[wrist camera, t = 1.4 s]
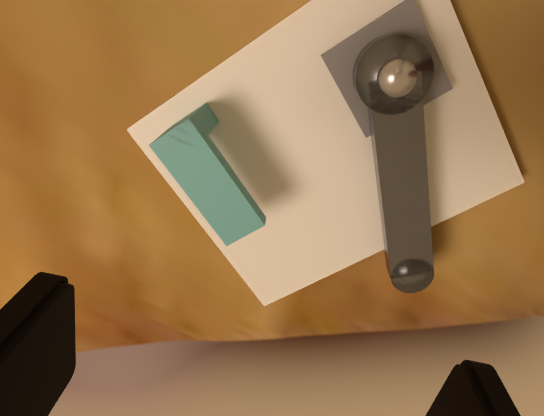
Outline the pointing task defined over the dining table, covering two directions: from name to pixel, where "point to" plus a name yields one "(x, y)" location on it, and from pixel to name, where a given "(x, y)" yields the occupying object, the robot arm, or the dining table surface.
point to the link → (400, 151)
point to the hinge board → (320, 141)
